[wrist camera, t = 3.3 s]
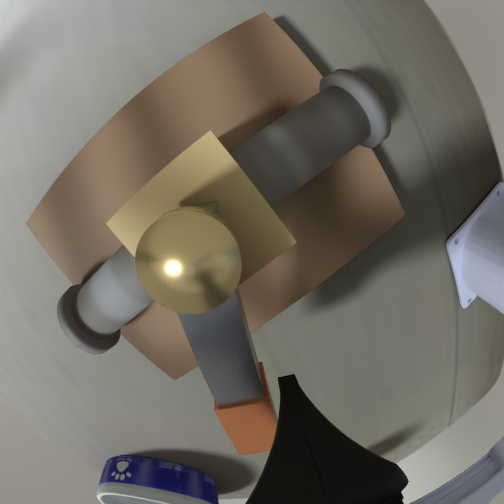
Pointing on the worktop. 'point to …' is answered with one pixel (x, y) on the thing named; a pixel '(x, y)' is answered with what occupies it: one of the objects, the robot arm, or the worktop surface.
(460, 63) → the worktop surface
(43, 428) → the worktop surface
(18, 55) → the worktop surface
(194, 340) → the valve lever
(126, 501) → the dog bowl
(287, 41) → the valve board
